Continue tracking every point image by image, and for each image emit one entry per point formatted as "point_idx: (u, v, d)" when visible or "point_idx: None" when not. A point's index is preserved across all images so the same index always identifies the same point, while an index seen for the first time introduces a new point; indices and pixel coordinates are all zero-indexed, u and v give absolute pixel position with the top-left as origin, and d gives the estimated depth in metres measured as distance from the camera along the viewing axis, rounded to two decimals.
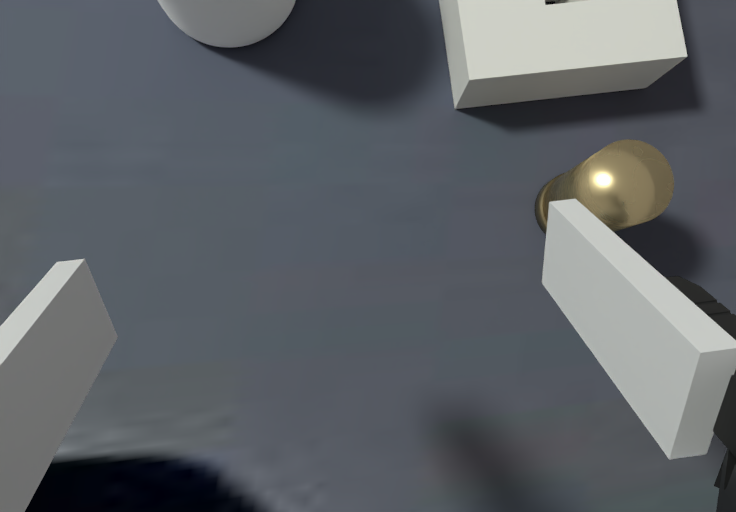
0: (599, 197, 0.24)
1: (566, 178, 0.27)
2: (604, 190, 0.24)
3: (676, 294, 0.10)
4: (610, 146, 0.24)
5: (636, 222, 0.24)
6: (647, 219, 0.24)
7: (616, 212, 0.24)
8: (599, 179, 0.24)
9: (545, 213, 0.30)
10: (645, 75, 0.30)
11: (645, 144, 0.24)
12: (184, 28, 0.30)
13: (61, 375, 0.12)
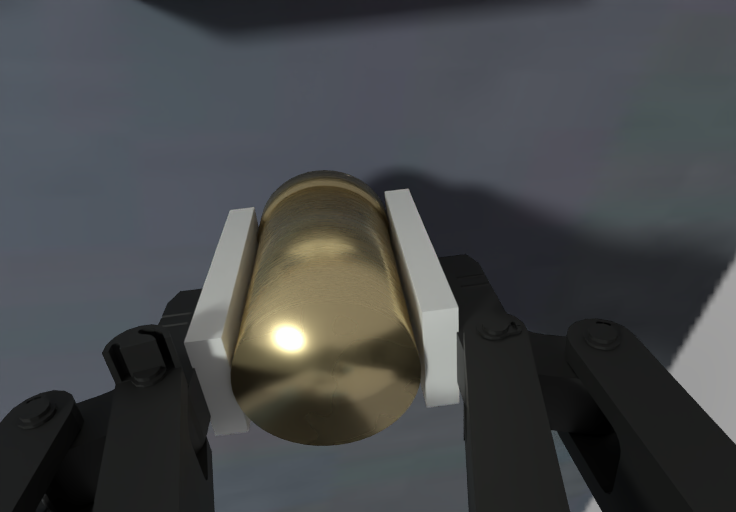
0: (256, 409, 0.11)
1: (255, 270, 0.13)
2: (265, 399, 0.11)
3: (435, 267, 0.12)
4: (280, 316, 0.10)
5: (333, 444, 0.12)
6: (355, 439, 0.12)
7: (293, 430, 0.12)
8: (255, 379, 0.11)
9: None
10: None
11: (365, 311, 0.10)
12: None
13: None
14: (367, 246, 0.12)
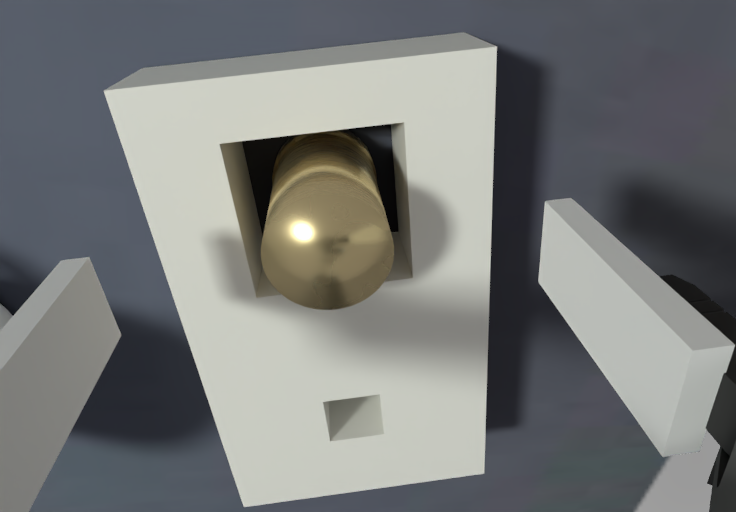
0: (277, 278, 0.16)
1: (274, 189, 0.18)
2: (284, 269, 0.16)
3: (669, 293, 0.10)
4: (296, 204, 0.15)
5: (332, 308, 0.16)
6: (348, 305, 0.16)
7: (303, 296, 0.16)
8: (277, 253, 0.15)
9: None
10: None
11: (354, 201, 0.15)
12: None
13: (66, 372, 0.12)
14: (356, 169, 0.17)
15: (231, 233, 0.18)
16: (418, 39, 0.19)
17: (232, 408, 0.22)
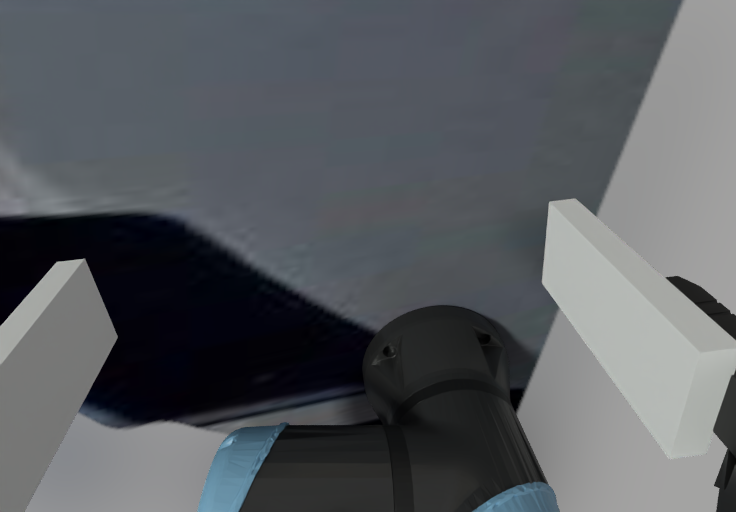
0: None
1: None
2: None
3: (676, 294, 0.10)
4: None
5: None
6: None
7: None
8: None
9: None
10: None
11: None
12: None
13: (61, 375, 0.12)
14: None
15: None
16: None
17: None
